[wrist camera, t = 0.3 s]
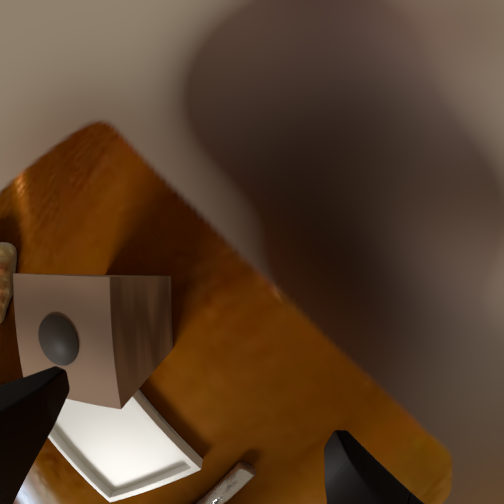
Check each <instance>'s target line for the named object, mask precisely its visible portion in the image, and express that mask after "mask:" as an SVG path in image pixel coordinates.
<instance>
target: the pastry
mask: <svg viewBox="0 0 504 504" xmlns="http://www.w3.org/2000/svg"><path fill="white" fill-rule="evenodd" d="M16 263H17V251H16V248H15V247H14V245H12V244H10V243H4V242H0V324H1V323H2V322H3V320H4V318H5V316H6V310H7V307H8V305H9V302H10V299H11V298H12V295H13V273H15V272H16Z"/></svg>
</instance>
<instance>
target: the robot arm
mask: <svg viewBox="0 0 504 504" xmlns="http://www.w3.org/2000/svg"><path fill="white" fill-rule="evenodd" d="M69 391H70V386H69V381H68V376H67V372H66V370H64V369H62V368H60V367H58V366H54V367H51V368H48V369H45V370H43V371H40V372H37V373H34V374H32V375H29V376H26V377H23V378H20V379H18V380H15V381H12V382H9V383H6V384H3V385H0V504H13V502H14V500H15V498H16V496H17V494H18V492H19V490H20V488H21V486H22V484H23V482H24V480H25V478H26V476H27V474H28V472H29V470H30V468H31V466H32V465H33V463H34V461H35V459H36V457H37V455H38V454H39V452H40V450H41V448H42V446H43V445H44V443H45V441H46V439H47V438H48V436H49V434H50V432H51V431H52V429H53V427H54V425H55V423H56V421H57V419H58V416H59V414H60V412H61V409H62V407H63V405H64V403H65V401H66V398H67V396H68V394H69ZM324 455H325V490H326V497H327V504H424V503H423V502H422V501H421V500H419V499H418V498H417V497H416V496H415V495H414V494H413V493H411V492H410V491H409V490H408V489H407V488H406V487H405V486H404V485H403V484H402V483H400V482H399V481H398V480H397V479H396V478H395V477H394V476H393V475H392V474H391V473H390V472H389V471H388V470H387V469H386V468H385V467H383V466H382V465H381V464H380V463H379V462H378V461H377V460H376V459H375V458H374V457H373V456H372V455H371V454H370V453H369V452H368V451H367V450H366V449H365V448H364V447H363V446H362V445H361V444H360V443H359V442H358V441H357V440H356V439H355V438H354V437H353V436H352V435H351V434H350V433H349V432H348V431H346V430H335V431H334V432H333V434H332V435H331V437H330V438H329V440H328V442H327V443H326V445H325V449H324Z"/></svg>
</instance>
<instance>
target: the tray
mask: <svg viewBox="0 0 504 504" xmlns="http://www.w3.org/2000/svg"><path fill="white" fill-rule="evenodd" d="M48 438H49V439H50V440H51V442H52V443H53V444H54V445H55V446H56V448H57V449H58V450H59V451H60V452H61V454H62V455H63V456H64V457H65V458H66V459H67V460H68V462H69V463H70V464H71V465H72V466H73V467H74V468H75V469H76V470H77V471H78V472H79V473H80V474H81V475H82V476H83V477H84V478H85V479H86V480H87V481H88V482H89V483H90V484H91V485H92V486H93V487H94V488H95V489H96V490H97V491H98V492H99V493H100V494H101V495H102V496H103V497H104V498H106V499H107V500H108V501H109V502H113V501H117V500H120V499H124V498H127V497H130V496H134V495H137V494H140V493H143V492H146V491H149V490H152V489H154V488H157V487H160V486H163V485H165V484H168V483H170V482H173V481H175V480H178V479H180V478H183V477H185V476H188V475H190V474H192V473H194V472H197V471H199V470H201V467H202V461H203V459H202V458H201V457H200V456H199V455H198V454H197V453H196V452H195V451H194V450H193V449H192V448H191V447H190V446H189V445H188V444H187V443H186V442H185V441H184V440H183V439H182V438H181V437H180V436H179V435H178V434H177V433H176V431H175V430H174V429H173V428H172V427H171V426H170V425H169V424H168V423H167V422H166V421H165V419H164V418H163V417H162V416H161V415H160V414H159V413H158V411H157V410H156V409H155V408H154V407H153V406H152V404H151V403H150V402H149V401H148V400H147V398H146V397H145V396H144V395H143V393H142V392H141V391H140V390H139V389H138V390H137V391H136V393H135V394H134V395H133V396H132V397H131V399H130V400H129V401H128V402H127V403H126V404H125V406H124V407H123V408H122V409H115V408H109V407H103V406H98V405H93V404H88V403H83V402H78V401H74V400H70V399H66V401H65V403H64V405H63V407H62V409H61V412H60V414H59V416H58V419H57V421H56V423H55V425H54V427H53V429H52V431H51V432H50V434H49V436H48Z"/></svg>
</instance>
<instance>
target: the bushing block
mask: <svg viewBox="0 0 504 504" xmlns="http://www.w3.org/2000/svg"><path fill="white" fill-rule="evenodd" d="M13 289H14V310H15V323H16V333H17V341H18V348H19V355H20V361H21V367H22V373H23V377H26V376H29V375H32V374H34V373H37V372H40V371H43V370H45V369H48V368H51V367H54V366H58V367H60V368H62V369H64V370H66V372H67V376H68V381H69V386H70V391H69V394H68V396H67V398H66V399H70V400H74V401H78V402H83V403H88V404H93V405H98V406H103V407H109V408H115V409H122V408H123V407H124V406H125V404H126V403H127V402H128V401H129V400H130V399H131V397H132V396H133V395H134V394H135V393H136V391H137V390H138V389H139V388H140V387H141V386H142V384H143V383H144V382H145V381H146V380H147V379H148V377H149V376H150V375H151V374H152V373H153V371H154V370H155V369H156V368H157V367H158V366H159V364H160V363H161V362H162V361H163V360H164V358H165V357H166V356H167V355H168V354H169V353H170V351H171V350H172V349H173V334H172V308H171V276H138V275H64V274H17V273H13Z"/></svg>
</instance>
